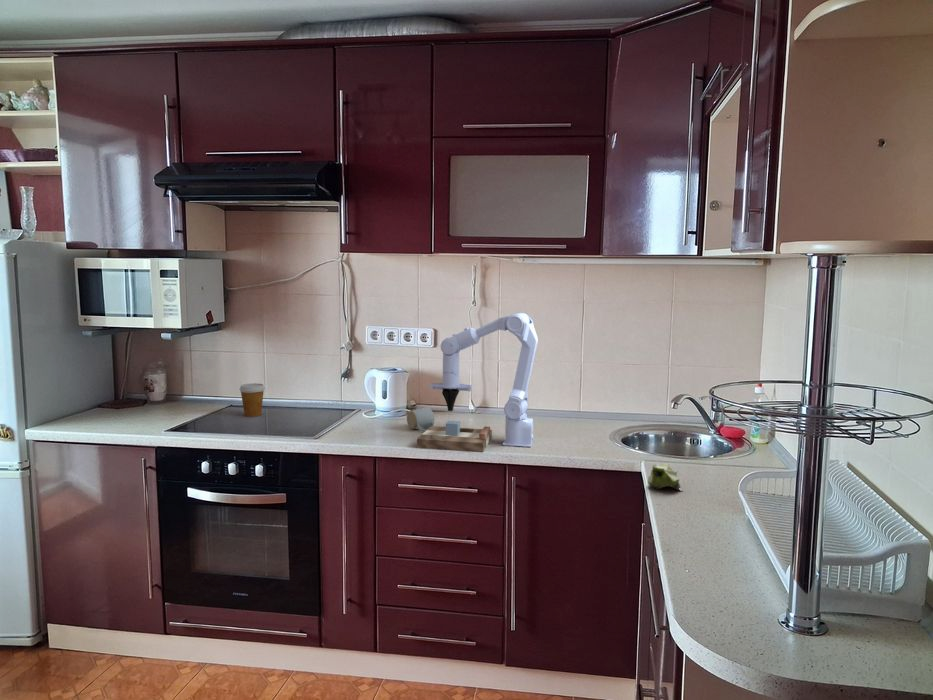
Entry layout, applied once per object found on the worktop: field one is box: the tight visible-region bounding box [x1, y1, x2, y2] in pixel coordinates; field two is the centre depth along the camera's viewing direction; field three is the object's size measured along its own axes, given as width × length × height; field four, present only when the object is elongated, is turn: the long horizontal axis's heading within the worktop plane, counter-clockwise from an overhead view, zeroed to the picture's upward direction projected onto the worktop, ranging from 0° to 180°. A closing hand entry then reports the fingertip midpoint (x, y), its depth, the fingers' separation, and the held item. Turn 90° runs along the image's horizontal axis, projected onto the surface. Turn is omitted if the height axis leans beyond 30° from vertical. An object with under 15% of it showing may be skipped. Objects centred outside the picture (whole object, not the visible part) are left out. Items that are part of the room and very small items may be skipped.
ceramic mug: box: [406, 406, 435, 433], centre depth 241 cm, size 11×8×8 cm
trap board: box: [416, 425, 493, 453], centre depth 223 cm, size 22×18×5 cm
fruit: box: [647, 462, 682, 491], centre depth 179 cm, size 9×9×8 cm
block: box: [445, 420, 461, 436], centre depth 223 cm, size 4×4×4 cm
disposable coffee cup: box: [239, 382, 266, 418], centre depth 260 cm, size 10×10×12 cm
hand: (450, 410), depth 229 cm, fingers closed
